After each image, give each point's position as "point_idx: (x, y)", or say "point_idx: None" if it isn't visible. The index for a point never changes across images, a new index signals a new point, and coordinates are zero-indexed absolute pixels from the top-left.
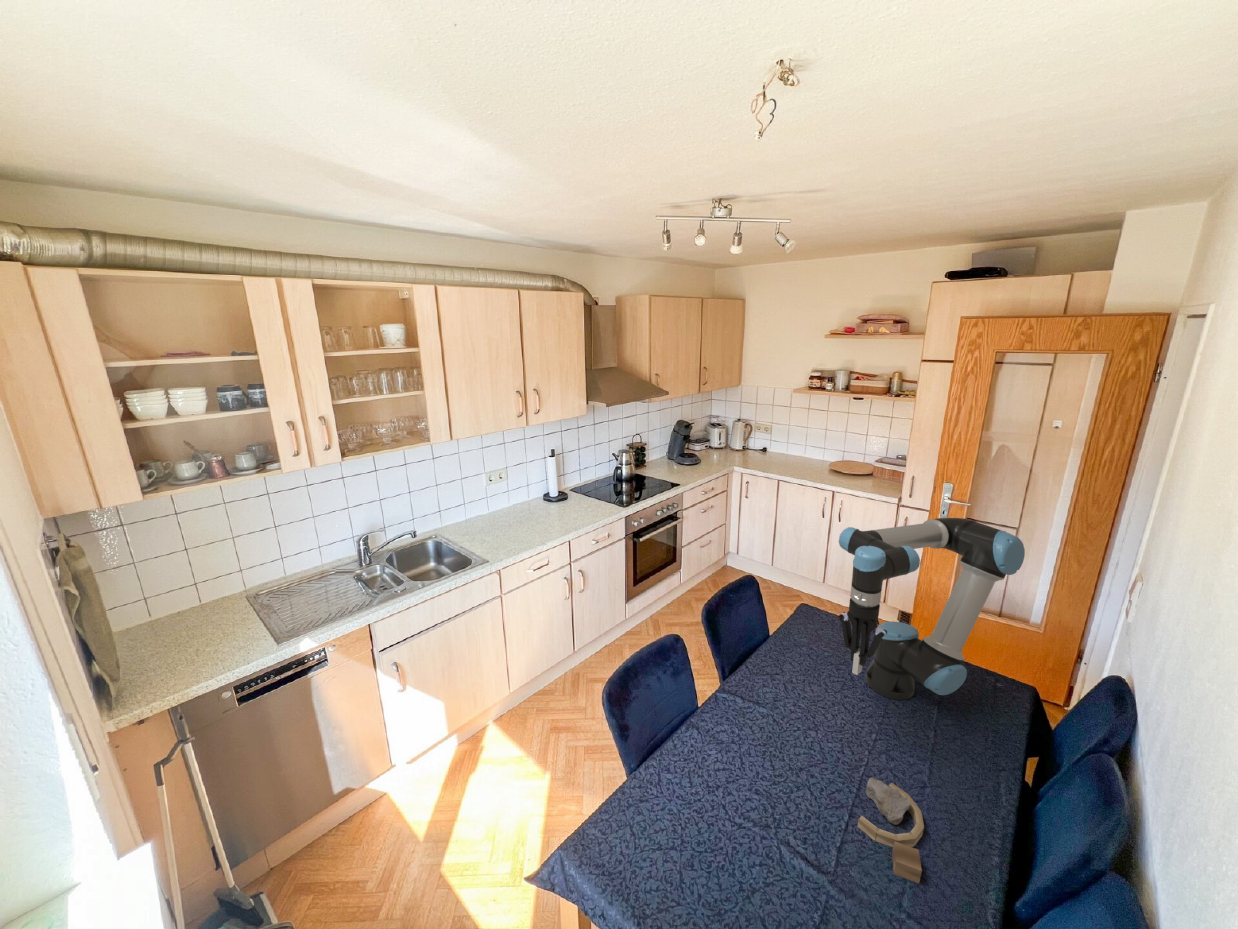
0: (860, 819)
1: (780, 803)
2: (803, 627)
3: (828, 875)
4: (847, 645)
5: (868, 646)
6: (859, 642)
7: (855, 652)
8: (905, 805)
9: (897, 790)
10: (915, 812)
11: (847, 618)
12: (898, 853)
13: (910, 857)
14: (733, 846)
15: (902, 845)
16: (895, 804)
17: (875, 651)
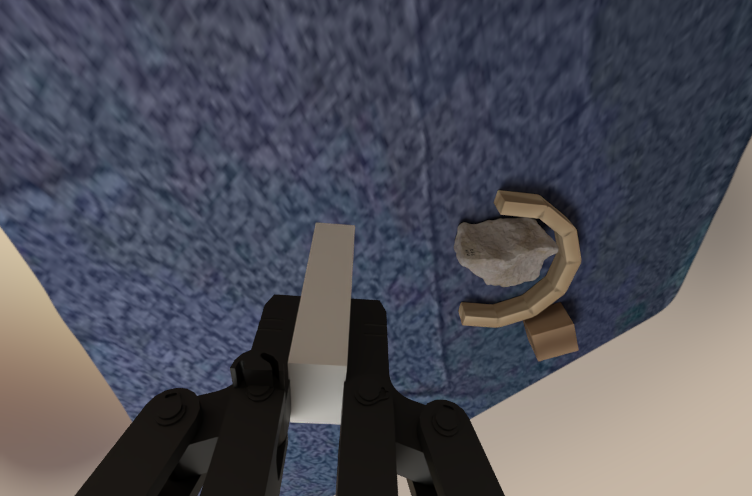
0: (465, 324)
1: None
2: None
3: (444, 391)
4: (195, 477)
5: (397, 487)
6: (267, 472)
7: (290, 410)
8: (546, 257)
9: (530, 252)
10: (564, 241)
11: None
12: (540, 349)
13: (560, 343)
14: (324, 432)
15: (546, 333)
16: (525, 269)
17: (486, 459)
